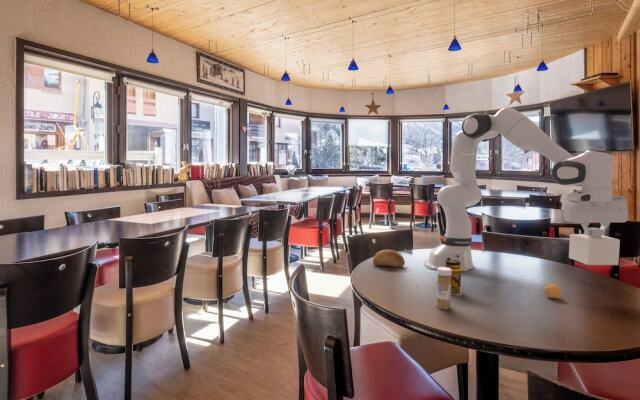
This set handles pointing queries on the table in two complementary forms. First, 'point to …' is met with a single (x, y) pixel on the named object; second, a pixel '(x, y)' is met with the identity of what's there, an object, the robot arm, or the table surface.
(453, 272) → the condiment
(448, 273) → the sprinkles bottle
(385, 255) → the bread roll
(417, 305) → the table surface
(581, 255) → the white box
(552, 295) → the ball
